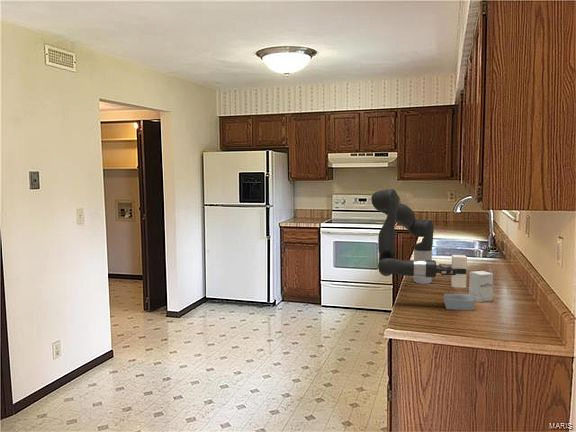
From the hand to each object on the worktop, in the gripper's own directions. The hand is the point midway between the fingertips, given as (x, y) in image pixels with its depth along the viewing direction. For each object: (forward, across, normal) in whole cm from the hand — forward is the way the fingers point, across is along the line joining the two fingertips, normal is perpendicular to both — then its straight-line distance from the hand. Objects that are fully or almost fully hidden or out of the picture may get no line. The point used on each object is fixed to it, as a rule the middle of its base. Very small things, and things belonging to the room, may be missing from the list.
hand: (465, 270), depth 208 cm
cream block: (-3, 0, +7) cm, 7 cm away
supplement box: (+9, +13, +16) cm, 23 cm away
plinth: (-2, 0, +16) cm, 16 cm away
